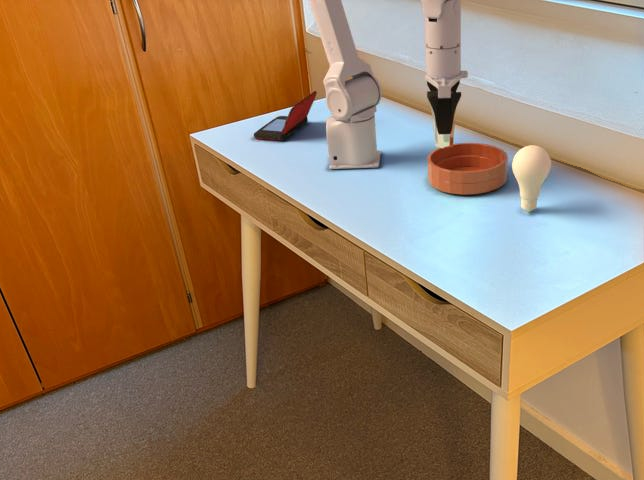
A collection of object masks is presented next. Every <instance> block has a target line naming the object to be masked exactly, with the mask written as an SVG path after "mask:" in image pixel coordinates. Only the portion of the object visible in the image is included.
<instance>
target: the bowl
mask: <svg viewBox="0 0 644 480" xmlns="http://www.w3.org/2000/svg"><path fill="white" fill-rule="evenodd" d="M508 165H509V156H508V153H507V152H506V151H505V150H504V149H503V148H500V147H498V146H496V145H492V144H487V143H481V142H458V143H453V146H452V147H450V148H438V147H436V149H434V150H432V151H431V152H429V154H428V155H427V182H428V184H429V186H431V187H432V188H434V189H435V190H438V191H440V192H444V193H446V194H447V193H448V194H453V195H460V196H461V195H462V196H463V195H464V196H469V195H471V196H472V195H479V194H484V193H489V192H492V191H494V190H497V189H499V188H501V187H502V186H504V185H505V184H506V182H507V180H508V169H509V168H508V167H509V166H508Z"/></svg>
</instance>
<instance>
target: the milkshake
mask: <svg viewBox="0 0 644 480" xmlns="http://www.w3.org/2000/svg"><path fill="white" fill-rule="evenodd" d="M430 110H431V117H432V129H433V137H434V145H435V147H436V148H450V147H452V146H453V144H454V139H455V124H456V114H457V109H456V110H455V114H454V120H453V126H452V131H451V134H440V135H439V134H438V131H437V126H436V121H435V115H434V112H433V109H432V106H431V105H430Z"/></svg>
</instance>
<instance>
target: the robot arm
mask: <svg viewBox="0 0 644 480" xmlns="http://www.w3.org/2000/svg"><path fill="white" fill-rule="evenodd" d="M308 3H309V5H310V8H311V9H310V10H311V12H312V15H313V18H314V21H315V24H316V28H317V31H318V33H319V37H320V40H321V43H322V45H323V49H324V52H325V56H326V59H327V62H328V65H329V68H328V70H327V72H326V74H325V76H324V78H323V81H322V83H323V86H324V89H325V104H326V107H327V109H328V111H329V113H330V114H331V115H332V116H327V117H326V121H325V134H326V145H327V154H328V161H329V162H328V163H329V169H330V170H345V169H347V170H348V169H369V168H370V169H371V168H373V169H375V168H379V167H380V161H381V150H378V144H377V131H376V128H377V127H376V115H375V114H376V113H377V106H378V105H379V104H380V102H381V100H382V96H383V92H382V87H381V84H380V82H379V80H378V79H377V77H376V76H375V75H374V73H373V70H372V66H371V64H369V63H368V62H366V61H365V60H363V59H362V58H360V56H359V55H358V50H357V48H356V44H355V42H354V38H353V35H352V34H353V33H352V32H351V28H350V25H349V24H350V23H349V21H348V17H347V15H346V12H345V8H344V6H343V2H342V0H308ZM420 3H421V4H422V13H423V14H424V34H425V41H424V42H425V73H424V79H425V80H426V86H427V87H428V89H429V91H428V90H427V91H426V98H427V100H428V102H429V104H430V107H431V106H432V109H433V112H434V115H435V121H436V126H437V131H438V134H439V135H440V134H451V131H452V126H453V120H454V114H455V110H456V111H457V106H458V104H459V102H460V101H461V99H462V92H461V91H458V89H459V86H460V83H461V80H462V79H467V78H468V77H469V72H468V70H462V64H461V63H462V59H461V58H462V56H461V55H462V52H461V51H462V45H461V44H462V0H420Z"/></svg>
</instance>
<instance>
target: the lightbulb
mask: <svg viewBox="0 0 644 480" xmlns="http://www.w3.org/2000/svg"><path fill="white" fill-rule="evenodd" d="M511 162H512V163H511V168H512V169H511V170H512V173H513V175H514V177H515V179H516V182H517V184H518V188H519V196H520V201H521V202H520V206H521V209H522V210H523V211H525V212H528V213H531V212H532V211H534V210H536V208H537V205H538V200H539V199H538V198H539V197H540V191H541V188H542V186H543V184H544V182H545V180H546V179H547V177H548V175H549V174H550V171H551V168H552V159H551V157H550V155H549V153H548V151H546V150H545V148H543V147H542V146H539V145H535V144H531V145H530V144H529V145H525V146H523V147H522V148H520V149H519V150H518V151H517V152H516V154H514V156H513V159H512V161H511Z"/></svg>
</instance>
